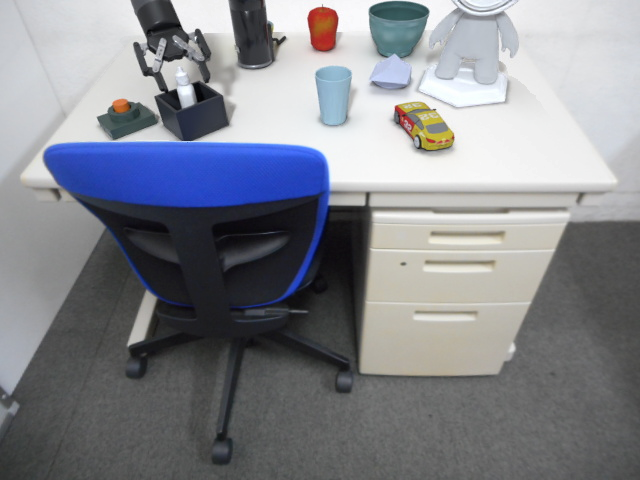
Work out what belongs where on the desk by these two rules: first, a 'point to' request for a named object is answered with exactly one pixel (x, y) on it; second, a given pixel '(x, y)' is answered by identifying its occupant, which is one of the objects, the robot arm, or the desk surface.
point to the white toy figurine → (471, 54)
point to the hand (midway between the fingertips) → (187, 86)
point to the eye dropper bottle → (185, 89)
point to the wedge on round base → (391, 73)
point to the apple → (323, 27)
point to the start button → (121, 105)
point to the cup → (333, 93)
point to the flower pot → (397, 26)
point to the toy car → (424, 125)
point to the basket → (193, 112)
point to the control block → (126, 120)
